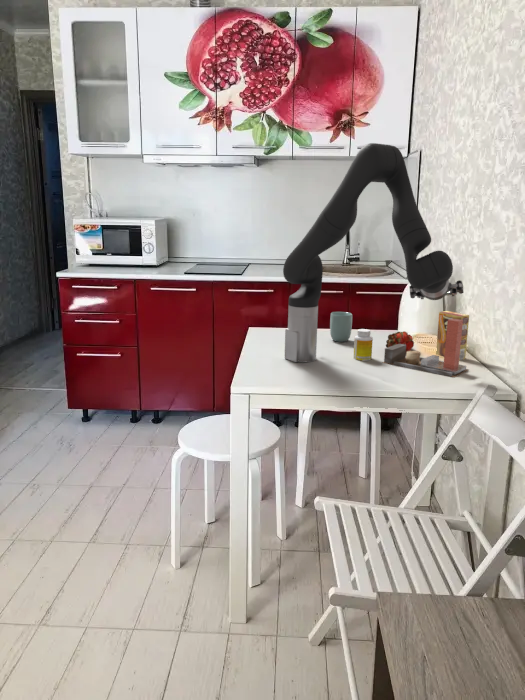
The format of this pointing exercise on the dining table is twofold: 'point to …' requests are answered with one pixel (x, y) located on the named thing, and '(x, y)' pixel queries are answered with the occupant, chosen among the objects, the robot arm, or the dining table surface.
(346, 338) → the cup
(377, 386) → the dining table surface
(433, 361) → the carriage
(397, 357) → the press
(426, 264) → the robot arm
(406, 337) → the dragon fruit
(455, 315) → the candy box
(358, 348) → the supplement bottle
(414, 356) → the puck
